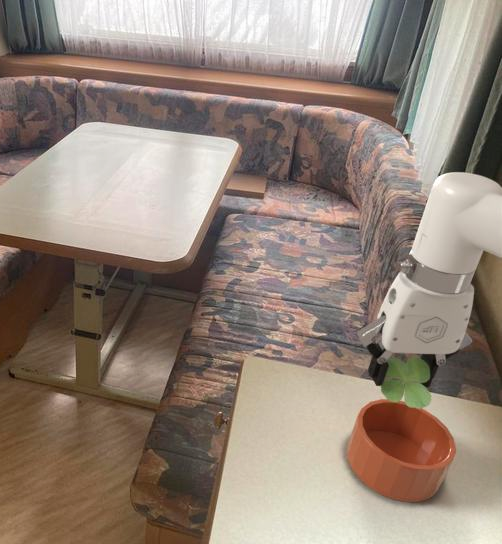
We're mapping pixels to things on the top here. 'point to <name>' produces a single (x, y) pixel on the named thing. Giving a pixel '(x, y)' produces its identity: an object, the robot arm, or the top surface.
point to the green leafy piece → (407, 382)
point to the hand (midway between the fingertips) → (398, 379)
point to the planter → (400, 450)
